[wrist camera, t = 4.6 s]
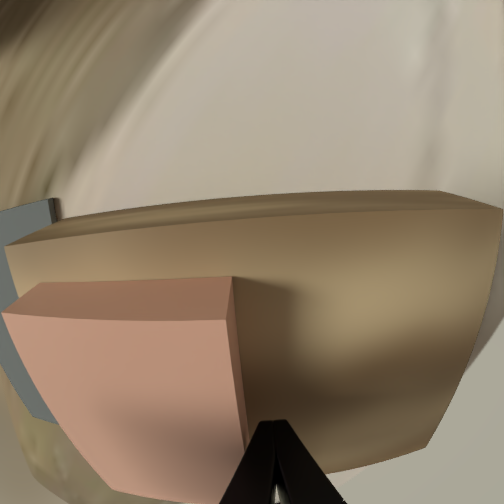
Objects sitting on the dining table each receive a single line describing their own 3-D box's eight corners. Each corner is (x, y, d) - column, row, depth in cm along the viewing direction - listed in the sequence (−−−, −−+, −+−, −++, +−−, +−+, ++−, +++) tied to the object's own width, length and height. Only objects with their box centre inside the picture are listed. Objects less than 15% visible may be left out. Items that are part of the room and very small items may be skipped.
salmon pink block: (253, 467, 10) (253, 505, 8) (123, 457, 10) (112, 489, 8) (231, 276, 7) (225, 319, 5) (39, 282, 7) (1, 312, 5)
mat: (136, 436, 15) (134, 440, 15) (34, 413, 15) (32, 416, 15) (52, 197, 10) (47, 199, 10) (-44, 225, 10) (-48, 226, 10)
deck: (400, 399, 14) (425, 447, 10) (132, 418, 14) (114, 469, 11) (439, 190, 10) (503, 209, 7) (64, 218, 11) (3, 246, 7)
